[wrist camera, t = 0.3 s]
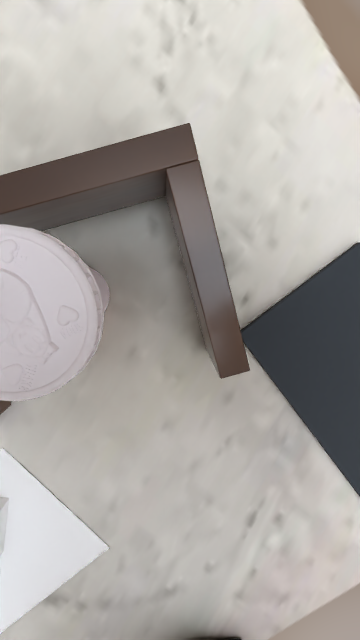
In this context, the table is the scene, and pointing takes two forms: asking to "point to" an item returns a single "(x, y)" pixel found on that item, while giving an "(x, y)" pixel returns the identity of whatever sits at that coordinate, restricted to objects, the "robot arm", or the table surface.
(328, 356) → the mat
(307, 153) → the table surface
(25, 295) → the smoothie
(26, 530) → the napkin holder
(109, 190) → the frame
